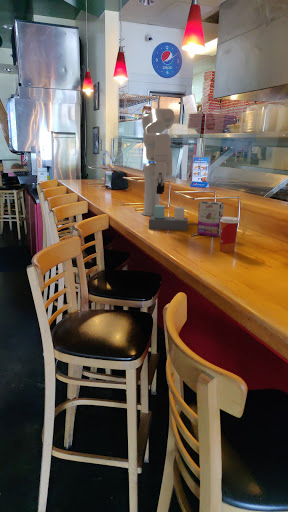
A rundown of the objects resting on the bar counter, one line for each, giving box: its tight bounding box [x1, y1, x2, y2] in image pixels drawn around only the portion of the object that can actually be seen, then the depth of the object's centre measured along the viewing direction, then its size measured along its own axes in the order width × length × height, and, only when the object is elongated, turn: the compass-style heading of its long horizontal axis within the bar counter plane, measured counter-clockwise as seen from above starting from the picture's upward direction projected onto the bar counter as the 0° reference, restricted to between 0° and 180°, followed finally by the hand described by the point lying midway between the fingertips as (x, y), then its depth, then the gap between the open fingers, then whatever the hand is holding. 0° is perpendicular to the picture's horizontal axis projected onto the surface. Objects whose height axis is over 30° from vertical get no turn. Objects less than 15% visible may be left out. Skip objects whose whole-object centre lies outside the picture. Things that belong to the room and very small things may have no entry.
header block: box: [148, 206, 189, 231], centre depth 195 cm, size 10×20×11 cm, turn 83°
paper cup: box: [219, 216, 240, 254], centre depth 153 cm, size 8×8×14 cm
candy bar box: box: [197, 200, 224, 238], centre depth 181 cm, size 11×5×16 cm, turn 62°
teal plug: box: [154, 204, 166, 219], centre depth 196 cm, size 5×5×12 cm
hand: (160, 193), depth 192 cm, fingers open, 9 cm apart
